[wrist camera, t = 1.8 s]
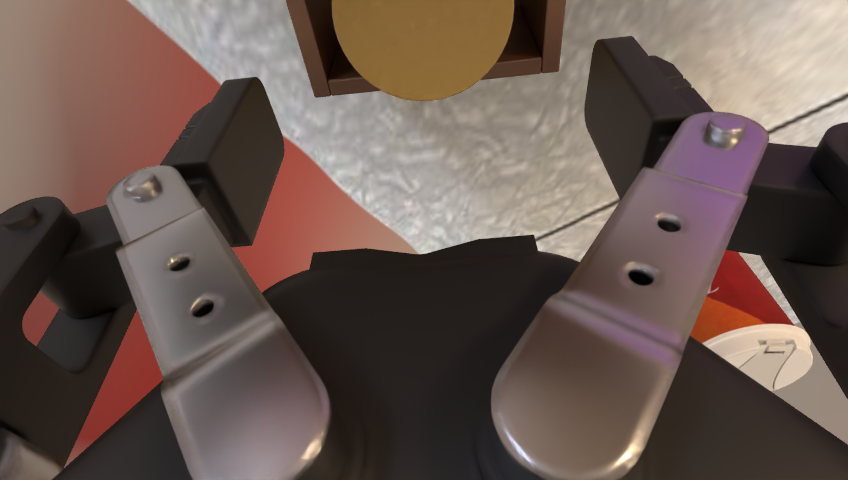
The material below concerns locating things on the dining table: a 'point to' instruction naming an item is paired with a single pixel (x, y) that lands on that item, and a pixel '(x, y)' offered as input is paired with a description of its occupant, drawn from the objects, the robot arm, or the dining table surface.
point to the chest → (522, 55)
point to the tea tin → (422, 42)
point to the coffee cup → (751, 327)
